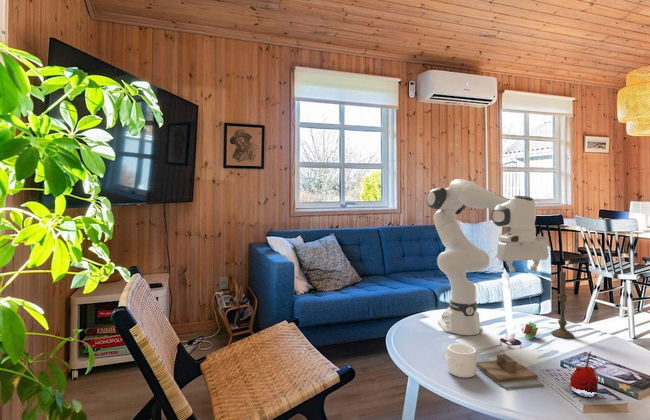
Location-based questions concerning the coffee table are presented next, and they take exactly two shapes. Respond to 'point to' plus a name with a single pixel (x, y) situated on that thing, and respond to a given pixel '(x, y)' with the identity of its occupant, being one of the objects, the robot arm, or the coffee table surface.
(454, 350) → the mug
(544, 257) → the robot arm
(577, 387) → the candy apple
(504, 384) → the mat
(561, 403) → the coffee table surface
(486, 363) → the lid
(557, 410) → the coffee table surface
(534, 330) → the geometric puzzle
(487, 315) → the coffee table surface
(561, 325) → the candlestick holder
